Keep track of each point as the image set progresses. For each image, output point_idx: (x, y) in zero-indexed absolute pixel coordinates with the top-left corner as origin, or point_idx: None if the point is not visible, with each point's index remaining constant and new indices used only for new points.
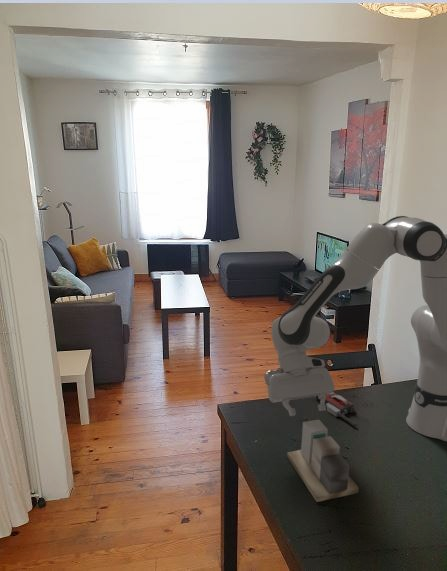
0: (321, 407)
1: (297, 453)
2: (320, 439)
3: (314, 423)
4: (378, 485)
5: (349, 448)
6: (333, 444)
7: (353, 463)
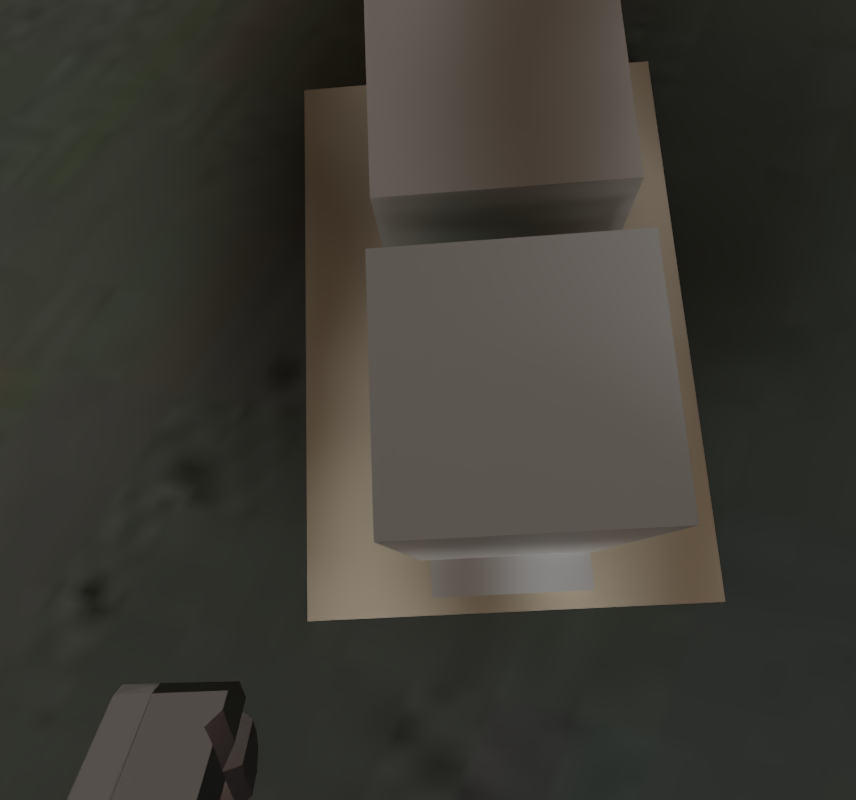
0: (207, 710)
1: (625, 561)
2: (544, 152)
3: (506, 442)
4: (135, 154)
5: (77, 584)
6: (419, 38)
7: (165, 393)
